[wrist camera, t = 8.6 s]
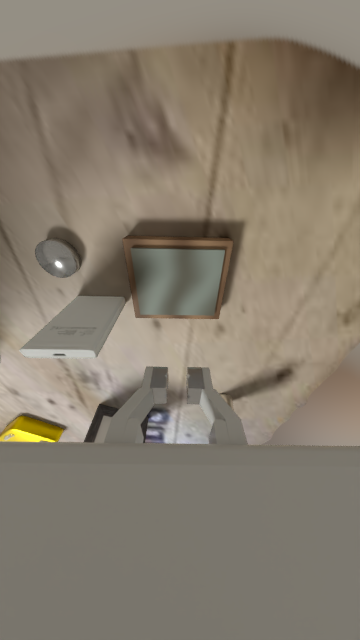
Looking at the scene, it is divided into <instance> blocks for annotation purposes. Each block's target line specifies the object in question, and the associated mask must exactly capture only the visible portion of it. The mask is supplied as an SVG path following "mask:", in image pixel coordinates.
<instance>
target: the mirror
mask: <svg viewBox="0 0 360 640" xmlns="http://www.w3.org/2000/svg"><path fill="white" fill-rule="evenodd" d="M122 240H123V246H124V252H125V258H126V264H127V270H128V276H129V282H130V288H131V293H132V299H133V305H134V311H135V317H136V318H185V319H219V315H220V310H221V304H222V299H223V294H224V289H225V283H226V278H227V273H228V268H229V262H230V257H231V252H232V247H233V240H231V239H230V238H211V237H161V236H126V237H125V238H123V239H122Z"/></svg>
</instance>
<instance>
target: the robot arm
mask: <svg viewBox="0 0 360 640" xmlns="http://www.w3.org/2000/svg"><path fill="white" fill-rule="evenodd" d="M0 362H1V356H0ZM186 384H187V404H200V407H201V408H202V410H203V411H204V413H205V415H206V416H207V418H208V419H209V421H210V423H211V424H212V429H211V432H210V435H209V444H160V443H143V439H144V437H143V433H142V429H141V423H142V422H143V420H144V419H145V417H146V416H147V414H148V413H149V412H150V410H151V409H152V407H153V406H154V404H167V388H168V367H146V369H145V373H144V378H143V382H142V387H141V388H139V389H138V390H137V391H136V392H135V393H134V394H133V395H132V396H131V397H130V398H129V399H128V401H127V402H126V403H125V404H124V405H123V406H122V407H121V408H120V409H119V410H118V411H117V412H116V413H115V414H114V416H113V417H112V419H111V422H110V425H109V428H108V431H107V434H106V437H105V440H104V443H87V442H12V441H0V640H360V446H304V445H303V446H301V445H248V443H247V440H246V436H245V433H244V429H243V425H242V422H241V419H240V418H239V417H238V415H237V414H236V413H235V412H234V411H233V410H232V408H231V407H230V406H229V405H228V404H227V403H226V401H225V400H224V399H223V398H222V397H221V395H220V394H219V393H218V392H217V391H216V390H215V389H213V386H212V381H211V375H210V369H209V368H201V367H187V380H186Z"/></svg>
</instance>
